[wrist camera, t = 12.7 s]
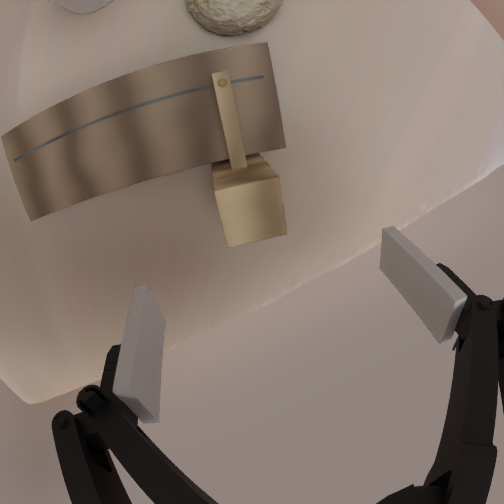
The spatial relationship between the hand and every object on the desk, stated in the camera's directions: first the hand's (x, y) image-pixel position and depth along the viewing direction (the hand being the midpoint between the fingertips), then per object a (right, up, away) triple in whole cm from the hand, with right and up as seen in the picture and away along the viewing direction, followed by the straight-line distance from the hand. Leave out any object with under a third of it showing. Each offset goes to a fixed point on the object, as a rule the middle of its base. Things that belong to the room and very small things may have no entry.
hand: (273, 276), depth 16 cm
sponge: (-3, +27, +6) cm, 28 cm away
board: (-14, +14, +11) cm, 23 cm away
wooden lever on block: (-3, +13, +14) cm, 19 cm away
